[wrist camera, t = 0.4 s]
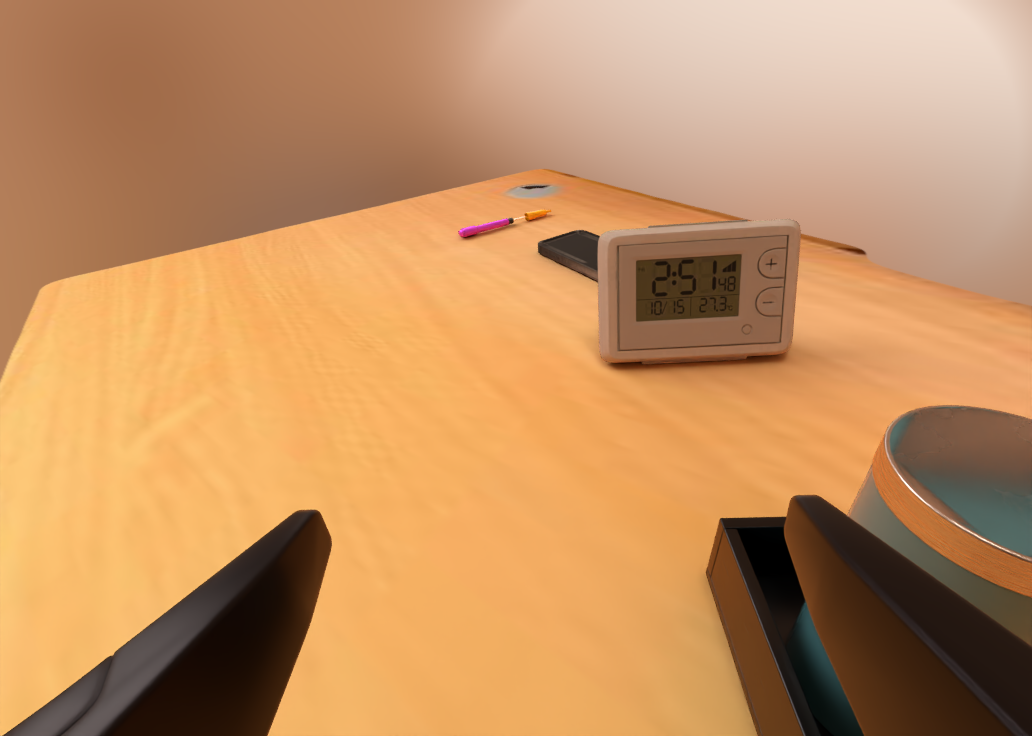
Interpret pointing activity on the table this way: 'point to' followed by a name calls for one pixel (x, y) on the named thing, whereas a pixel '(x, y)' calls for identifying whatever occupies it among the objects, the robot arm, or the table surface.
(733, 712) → the table surface
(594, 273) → the phone
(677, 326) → the digital clock
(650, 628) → the table surface
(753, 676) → the tray
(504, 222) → the multicoloured piece
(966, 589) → the tin
